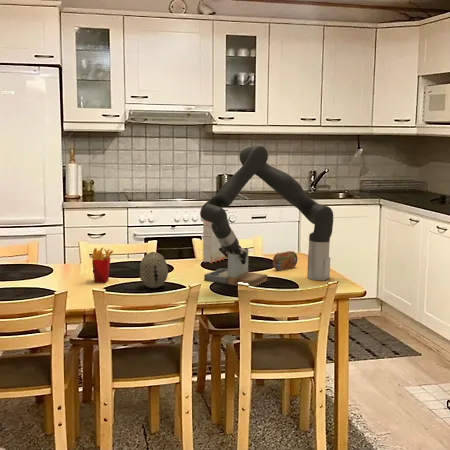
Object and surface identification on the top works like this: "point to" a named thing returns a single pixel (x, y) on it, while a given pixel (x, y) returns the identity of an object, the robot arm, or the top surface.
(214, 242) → the cracker box
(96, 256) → the french fries
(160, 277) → the decorative egg
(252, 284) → the board
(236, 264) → the grey-blue rectangular block
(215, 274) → the tray
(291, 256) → the tin
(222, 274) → the tile
